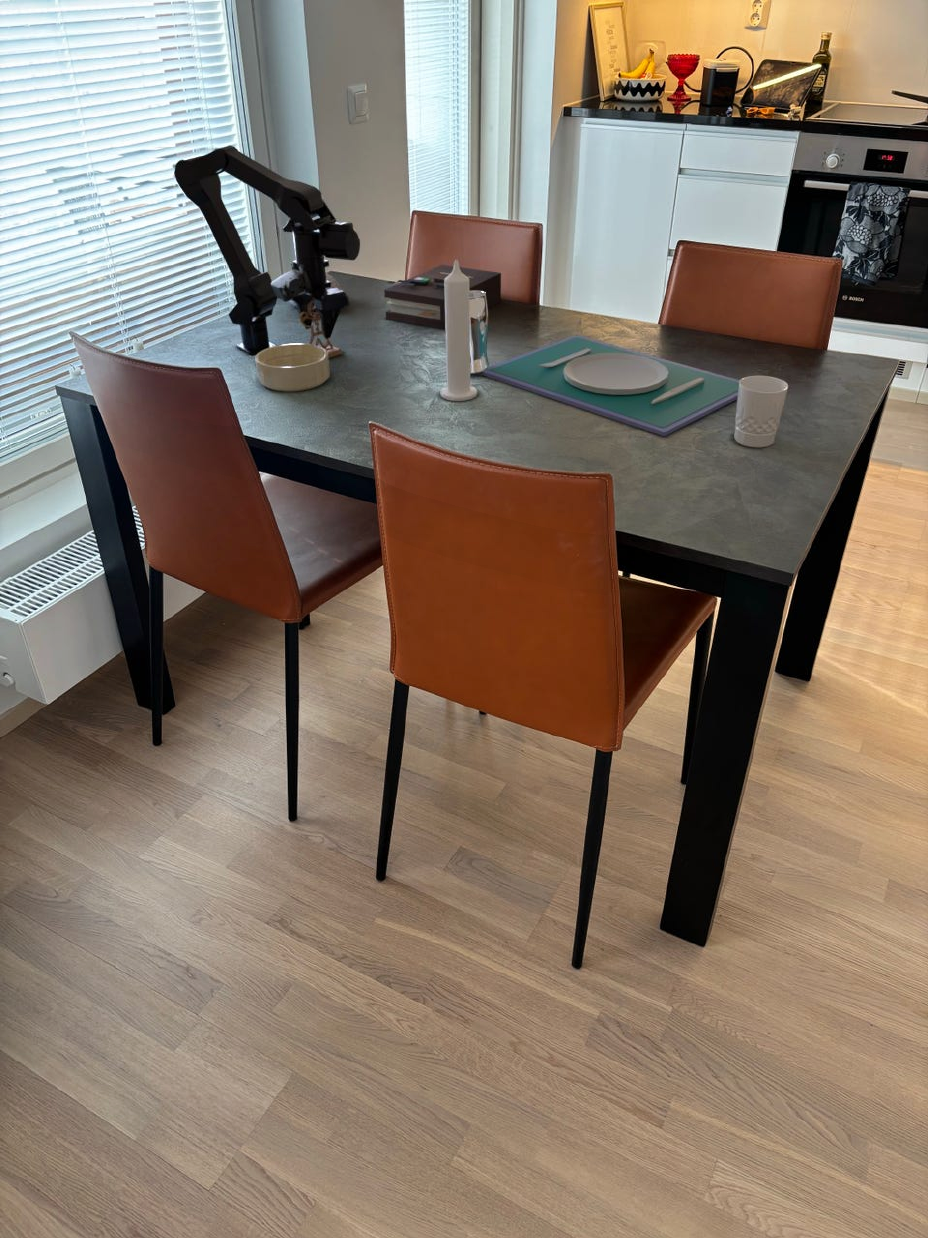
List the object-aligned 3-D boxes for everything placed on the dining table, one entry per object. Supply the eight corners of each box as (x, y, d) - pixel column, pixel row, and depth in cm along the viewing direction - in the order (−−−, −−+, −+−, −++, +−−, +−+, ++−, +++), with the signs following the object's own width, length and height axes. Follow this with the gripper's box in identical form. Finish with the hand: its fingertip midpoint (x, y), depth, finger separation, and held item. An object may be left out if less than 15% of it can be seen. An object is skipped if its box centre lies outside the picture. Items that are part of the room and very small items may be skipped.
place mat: (479, 373, 190) (479, 363, 188) (576, 337, 207) (576, 327, 206) (663, 436, 163) (665, 424, 162) (756, 388, 180) (758, 377, 179)
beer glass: (488, 374, 187) (483, 297, 179) (454, 375, 189) (447, 298, 181) (494, 364, 193) (489, 289, 185) (461, 365, 194) (455, 290, 187)
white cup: (724, 431, 164) (732, 376, 159) (768, 429, 165) (778, 374, 159) (739, 450, 158) (748, 393, 152) (784, 448, 158) (795, 391, 153)
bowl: (246, 377, 190) (243, 353, 187) (308, 362, 197) (305, 338, 194) (279, 398, 181) (276, 372, 178) (343, 381, 188) (340, 356, 185)
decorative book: (510, 267, 228) (444, 299, 207) (509, 299, 232) (445, 333, 211) (442, 258, 236) (373, 287, 215) (443, 288, 240) (376, 320, 219)
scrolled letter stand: (330, 349, 203) (325, 293, 197) (342, 353, 201) (337, 296, 194) (298, 359, 198) (291, 302, 191) (309, 364, 196) (303, 306, 189)
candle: (481, 389, 182) (481, 256, 168) (470, 403, 177) (468, 266, 163) (447, 386, 184) (444, 253, 170) (435, 399, 179) (430, 263, 165)
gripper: (252, 253, 190) (262, 330, 199) (296, 272, 178) (305, 353, 187) (300, 244, 196) (308, 319, 205) (347, 262, 183) (353, 341, 192)
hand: (317, 333), depth 197 cm, fingers open, 8 cm apart
